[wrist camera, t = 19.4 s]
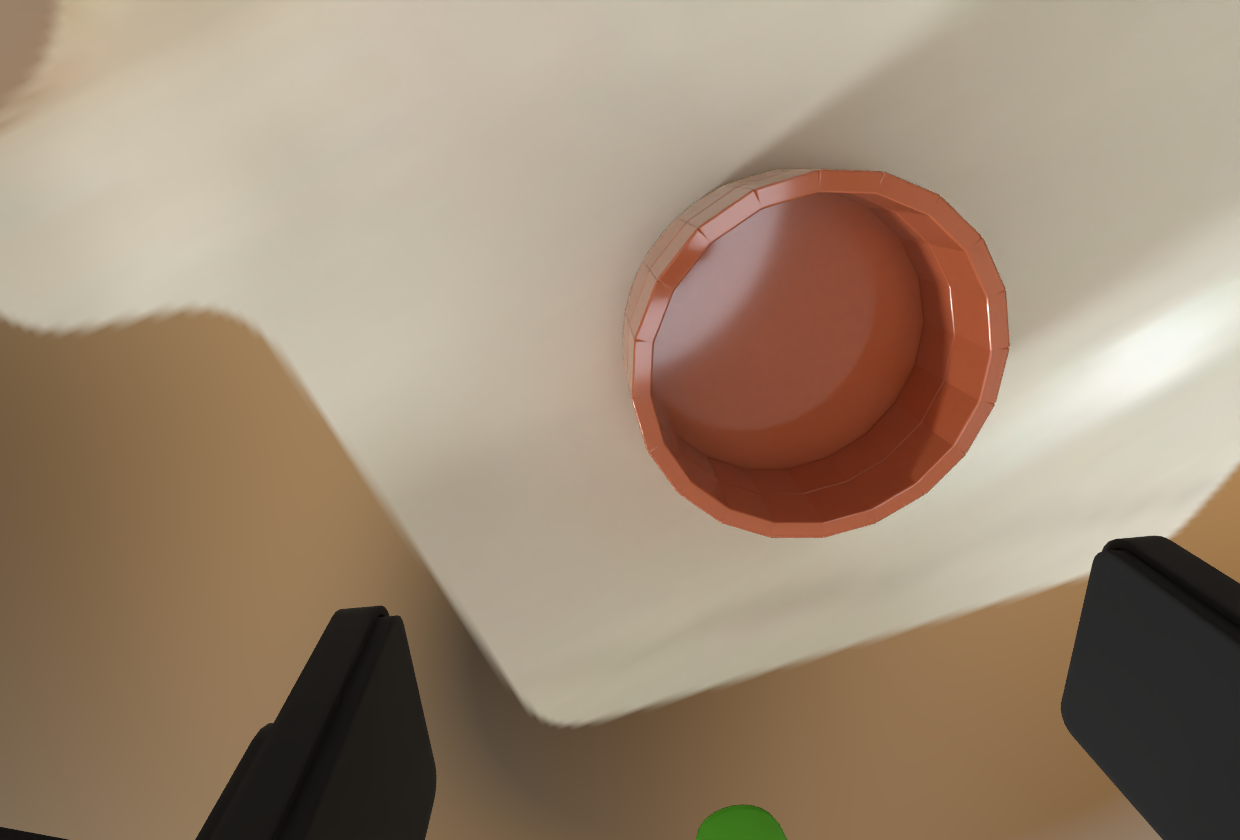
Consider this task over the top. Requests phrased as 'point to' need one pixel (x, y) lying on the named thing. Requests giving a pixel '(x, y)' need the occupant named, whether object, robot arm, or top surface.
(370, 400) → the top surface
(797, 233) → the bowl
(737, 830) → the cup
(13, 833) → the cake box
